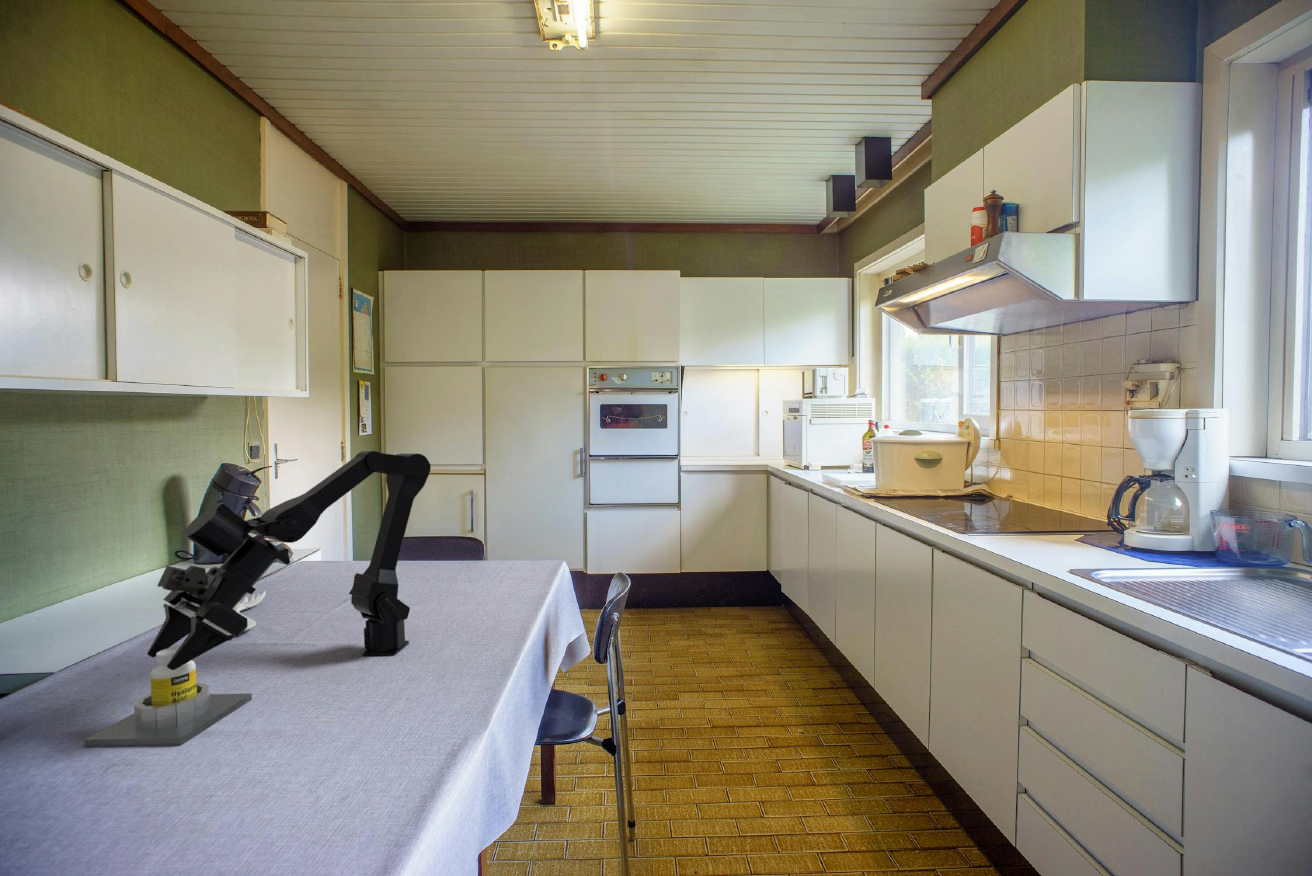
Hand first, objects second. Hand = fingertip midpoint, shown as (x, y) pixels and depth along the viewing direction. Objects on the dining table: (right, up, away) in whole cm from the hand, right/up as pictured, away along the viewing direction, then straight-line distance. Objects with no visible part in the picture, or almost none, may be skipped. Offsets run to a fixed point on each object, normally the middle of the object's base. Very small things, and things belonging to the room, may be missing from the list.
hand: (159, 662), depth 90 cm
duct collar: (+1, -10, +1) cm, 10 cm away
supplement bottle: (+1, -9, +2) cm, 9 cm away
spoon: (-24, -10, +51) cm, 57 cm away
